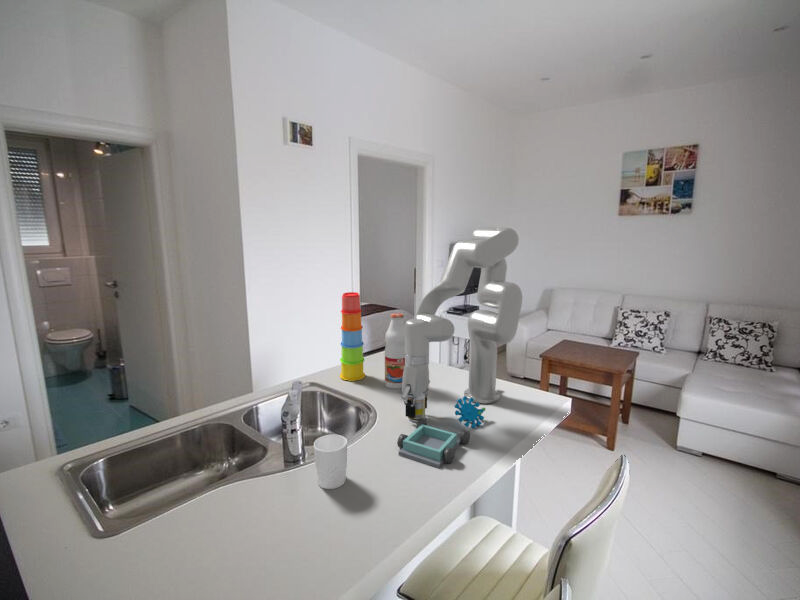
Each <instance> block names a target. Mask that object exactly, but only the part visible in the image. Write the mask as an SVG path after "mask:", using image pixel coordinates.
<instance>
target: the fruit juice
mask: <svg viewBox="0 0 800 600" xmlns="http://www.w3.org/2000/svg"><path fill="white" fill-rule="evenodd" d="M389 316H390V322H389V325H388V328H387V331H386V332H385V335H384V340H385V343H386V345H385V348H384V384H385V386H386V387H387V388H388V389H392V390H393V389H395V390H400V389H401V390H402V381H403V371H404V366H405V322H404V317H405V316H404V313H401V312H393V313H390V315H389Z"/></svg>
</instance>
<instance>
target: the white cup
mask: <svg viewBox="0 0 800 600" xmlns="http://www.w3.org/2000/svg"><path fill="white" fill-rule="evenodd" d="M313 452H314V454H313V455H314V464H315V472H316V476H317V477H316V479H317V484H318V486H319V487H320V488H322V489H325V490H334V489H337V488H340V487H341V486H342V485H344V484H345V483H346V480H347V466H348V464H347V462H348V439H347V438H346V437H345V436H343V435H340V434H326V435H322V436H320V437H318V438H316V439H315V440H314V441H313Z"/></svg>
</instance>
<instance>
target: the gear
mask: <svg viewBox="0 0 800 600" xmlns="http://www.w3.org/2000/svg"><path fill="white" fill-rule="evenodd" d="M456 401H457V403H455V405H454V408H455V409H457V410H455V412H454V414H455V416H459V417H458V421H459V423H462V422H463V421H465V423H463V424H464V427H466V428H469V427H470V426H471V427H470V428H472V429H475V428H477V427H478V426H481V425H482V422H481V421H483V420H484V419H485V416H484V415H482V414H483V413H484V412H485V411H486V409H487V408H485V407H482V408H479V407H480V406H481V405H480V403H478V402H477V403H476V402H473V401H474V399H473V398H470V399H469V400H468V398H467V397H465V396H464V395H463V397H462V398H458V399H457V400H456ZM467 401H468V402H467ZM472 403H474V404H472ZM470 423H472V424H471V425H470Z"/></svg>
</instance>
